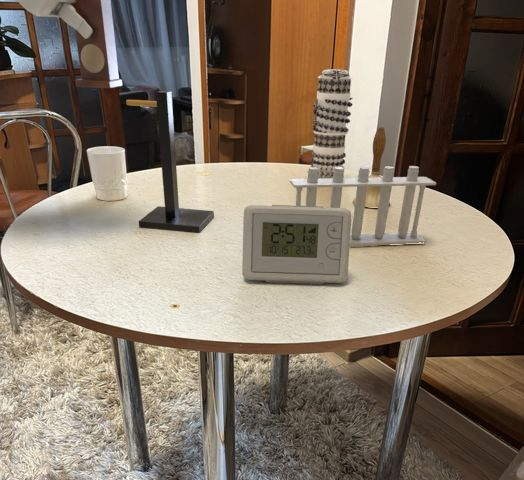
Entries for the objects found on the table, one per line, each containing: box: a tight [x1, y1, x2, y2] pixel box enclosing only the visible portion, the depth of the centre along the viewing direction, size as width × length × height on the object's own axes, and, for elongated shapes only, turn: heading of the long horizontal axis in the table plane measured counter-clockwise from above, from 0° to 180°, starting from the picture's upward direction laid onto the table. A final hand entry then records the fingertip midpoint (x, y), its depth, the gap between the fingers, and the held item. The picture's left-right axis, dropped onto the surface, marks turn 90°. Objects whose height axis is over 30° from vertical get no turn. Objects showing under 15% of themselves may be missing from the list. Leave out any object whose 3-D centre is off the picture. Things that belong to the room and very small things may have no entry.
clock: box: [71, 0, 123, 89], centre depth 80 cm, size 6×5×19 cm
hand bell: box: [352, 126, 391, 207], centre depth 110 cm, size 8×8×16 cm
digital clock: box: [241, 204, 352, 285], centre depth 77 cm, size 16×9×11 cm, turn 77°
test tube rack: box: [288, 165, 437, 248], centre depth 90 cm, size 25×4×13 cm, turn 99°
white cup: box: [86, 145, 128, 202], centre depth 112 cm, size 8×8×10 cm
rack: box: [125, 90, 215, 234], centre depth 95 cm, size 14×10×23 cm
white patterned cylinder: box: [310, 68, 354, 179], centre depth 123 cm, size 9×9×25 cm
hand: (98, 35), depth 81 cm, fingers closed on clock, 3 cm apart
